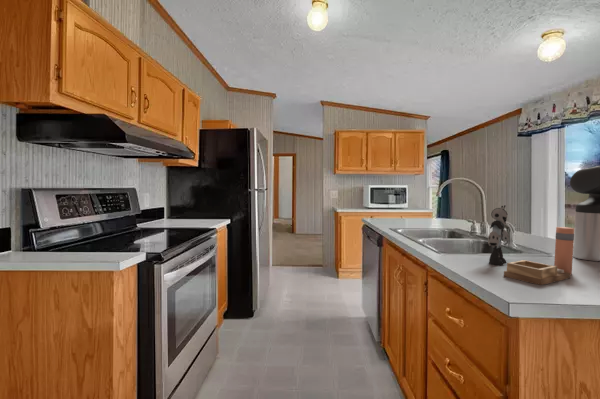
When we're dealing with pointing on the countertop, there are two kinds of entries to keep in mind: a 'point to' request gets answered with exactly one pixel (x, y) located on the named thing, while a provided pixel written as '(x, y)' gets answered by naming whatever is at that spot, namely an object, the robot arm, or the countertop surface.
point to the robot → (498, 236)
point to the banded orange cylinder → (564, 248)
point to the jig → (535, 272)
